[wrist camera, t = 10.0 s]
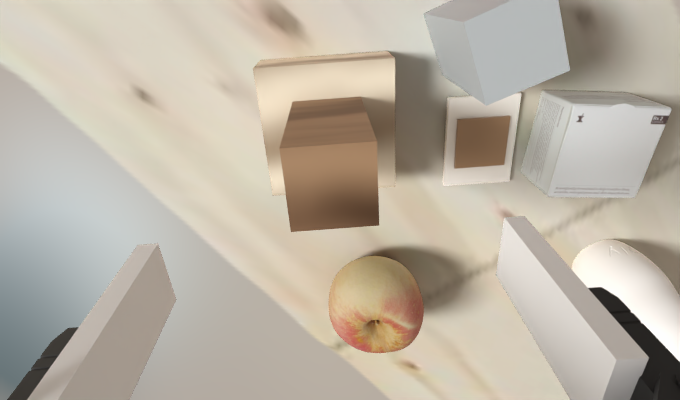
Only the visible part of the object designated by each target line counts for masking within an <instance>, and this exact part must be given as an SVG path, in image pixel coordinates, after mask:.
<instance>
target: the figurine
mask: <svg viewBox="0 0 680 400" xmlns="http://www.w3.org/2000/svg"><path fill="white" fill-rule="evenodd" d="M572 271H573V272H574V273H575V274H576V275H577V276H578V277H579V279H580V280H581V281H582V282H583V283H584V284H585V285H586V287H587V288H594V287H602V288H604V289H605V290H607V291H609V292H610V293H612V294H614V295H615V296H617V297H618V298H619V299H620V300H621V301H622V302H623V303H624V304H625V305H626V306H627V307H628V308H629V309H630V310H631V313H634V314H635V315H636V316H637V318H638V319H639V320H640V321H641V324H644V325H645V326H646V327H647V328H648V329H649V330H650V331H651V332H652V333H653V334H654V335H655V336H656V338H657V339H658V340H659V341H660V342H661V343H662V344H663V345H664V346H665V347H666V348H667V349H668V350H669V351H670V352H671V353H672V354H673V355H674V356H675V357H676V359H677V360H678V361H679V362H680V296H679V294H678V292H677V291H676V289H675V287H674V286H673V284H672V283H671V281H670V280H669V279H668V277H667V276H666V275H665V274H664V273H663V272H662V270H661V269H660V268H659V267H658V266H657V265H655V264H654V263H653V262H652V261H651V260H650V259H648V258H647V257H646V256H645V255H643V254H642V253H640V252H639V251H637V250H636V249H634V248H633V247H631V246H629V245H627V244H625V243H623V242H620V241H617V240H612V239H607V240H601V241H597V242H595V243H592V244H590V245H589V246H587V247H586V248H584V249H583V250H582V251H581V252H580V253H579V254H578V255H577V256H576V258H575V260H574V262H573V264H572Z"/></svg>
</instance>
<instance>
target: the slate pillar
mask: <svg viewBox="0 0 680 400" xmlns="http://www.w3.org/2000/svg"><path fill="white" fill-rule="evenodd" d="M424 18H425V21H426V24H427V27H428V30H429V34H430V37H431V40H432V43H433V47H434V50H435V53H436V56H437V59H438V63H439V66H440V69H441V72H442V75H443V76H444V77H446V78H447V79H448V80H450V81H451V82H453V83H454V84H456V85H457V86H459V87H460V88H461V89H463V90H464V91H466V92H467V93H469V94H470V95H471V96H473V97H474V98H476V99H477V100H479V101H480V102H481V103H483V104H484V105H486V106H487V105H489V104H492V103H494V102H496V101H499V100H501V99H504V98H506V97H508V96H511V95H513V94H515V93H518V92H520V91H523V90H525V89H527V88H530V87H532V86H534V85H537V84H539V83H542V82H544V81H546V80H549V79H551V78H553V77H556V76H558V75H561V74H563V73H565V72H568V71H570V67H569V61H568V55H567V49H566V43H565V37H564V31H563V25H562V19H561V13H560V6H559V0H451V1H449V2H447V3H445V4H443V5H441V6H439V7H436V8H434V9H432V10H430V11H428V12H426V13H424Z"/></svg>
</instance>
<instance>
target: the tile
mask: <svg viewBox="0 0 680 400" xmlns="http://www.w3.org/2000/svg"><path fill="white" fill-rule="evenodd" d="M521 94H522V93H520V92H518V93H515V94H513V95H511V96H508V97H506V98H504V99H501V100H499V101H496V102H494V103H492V104H489V105H487V106H486V105H484V104H483V103H481V102H480V101H479V100H477V99H476V98H474V97H473V96H471V95H469V96H456V97H447V113H446V131H445V148H444V166H443V186H453V185H467V184H480V183H494V182H507V181H509V180H510V173H511V166H512V158H513V151H514V144H515V137H516V130H517V122H518V115H519V108H520V101H521Z"/></svg>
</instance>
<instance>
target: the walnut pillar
mask: <svg viewBox="0 0 680 400" xmlns="http://www.w3.org/2000/svg"><path fill="white" fill-rule="evenodd" d="M279 149H280V157H281V164H282V171H283V178H284V185H285V192H286V199H287V207H288V214H289V221H290V228H291V232H295V231H309V230H322V229H336V228H349V227H363V226H376V225H379V204H378V162H377V140H376V137H375V134H374V131H373V129H372V126H371V123H370V120H369V118H368V115H367V112H366V109H365V106H364V104H363V101H362V98H361V97H347V98H334V99H320V100H306V101H293V102H292V105H291V109H290V112H289V116H288V120H287V123H286V127H285V130H284V134H283V137H282V141H281V144H280V148H279Z"/></svg>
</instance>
